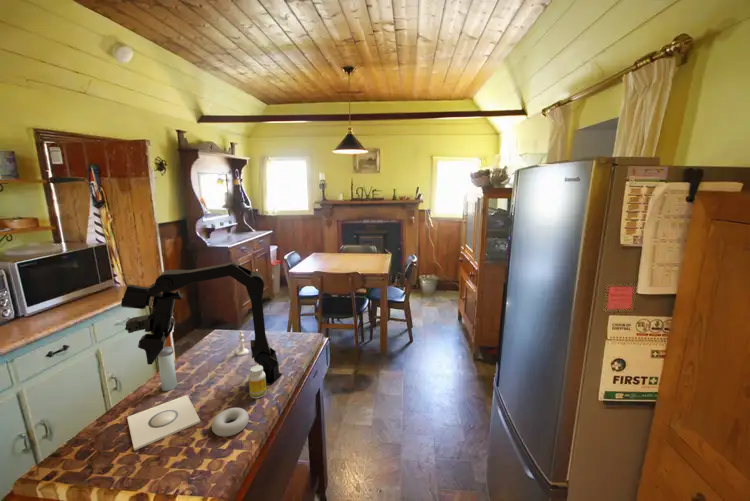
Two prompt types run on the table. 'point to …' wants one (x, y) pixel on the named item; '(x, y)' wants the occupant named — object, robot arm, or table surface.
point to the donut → (234, 427)
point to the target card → (161, 421)
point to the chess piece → (241, 346)
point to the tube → (167, 369)
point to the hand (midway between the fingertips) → (153, 357)
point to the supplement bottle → (257, 382)
